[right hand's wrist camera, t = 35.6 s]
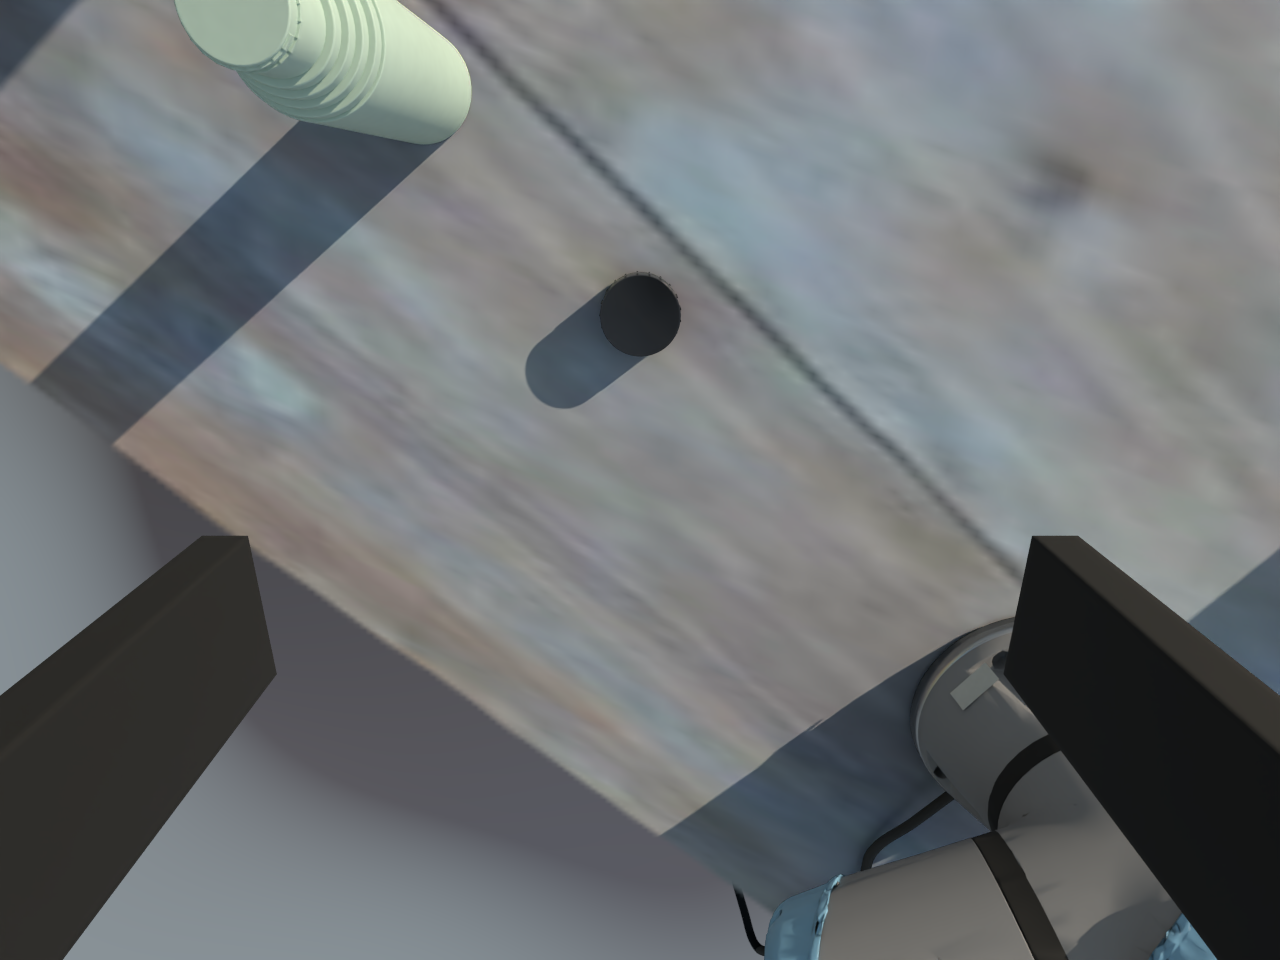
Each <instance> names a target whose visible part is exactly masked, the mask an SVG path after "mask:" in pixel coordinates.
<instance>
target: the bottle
mask: <svg viewBox="0 0 1280 960" xmlns="http://www.w3.org/2000/svg"><path fill="white" fill-rule="evenodd" d="M174 3H175V7H176V11H177V13H178V16H179V19H180V21H181V24H182V25H183V27H184V29H185V30H186V32H187V34H188V35H189V37H190V40H191V41H192V42H193V43H194V44H195V45H196V46H197V47H198V48H199V49H200V51H201V52H202V53H203V54H204V55H206V56H207V57H209V58H210V59H211V60H213V61H214V62H216V63H217V64H219V65H222V66H224V67H227V68H229V69H232V70H236V71H237V73H238V74H239V76H240V77H241V79H242V80H243V81H244V82H245V84H246V85H247V86H248V87H249V88H250V89H251V90H252V91H253V92H254V93H255V94H256V95H257V96H258V97H259V98H260V99H262V100H263V101H264V102H266V103H267V104H268V105H270V106H271V107H272V108H274V109H275V110H277V111H279V112H280V113H282V114H284V115H286V116H289V117H291V118H294V119H297V120H300V121H305V122H310V123H315V124H320V125H325V126H330V127H334V128H339V129H344V130H349V131H354V132H359V133H364V134H369V135H374V136H379V137H384V138H389V139H394V140H399V141H404V142H409V143H414V144H422V145H427V144H434V143H438V142H441V141H443V140H445V139H447V138H449V137H450V136H451V135H453V134H454V133H455V132H456V131H457V130H458V129H459V128H460V126H461V125H462V123H463V122H464V120H465V118H466V116H467V114H468V111H469V107H470V103H471V81H470V76H469V72H468V69H467V67H466V64H465V62H464V60H463V58H462V57H461V55H460V54H459V52H458V51H457V49H456V48H455V47H454V46H453V45H452V44H451V43H450V42H449V41H448V40H447V39H446V38H444V37H443V36H442V35H440V34H439V33H438V32H437V31H435V30H434V29H433V28H431V27H430V26H429V25H428V24H426V23H425V22H424V21H422V20H421V19H420V18H418V17H417V16H416V15H415V14H413V13H412V12H411V11H409V10H408V9H407V8H406V7H404V6H403V5H402V4H400V3H399V2H398V1H397V0H174Z"/></svg>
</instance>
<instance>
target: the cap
mask: <svg viewBox="0 0 1280 960" xmlns="http://www.w3.org/2000/svg"><path fill="white" fill-rule="evenodd" d="M677 298H678V297H677V294H675V293H674V291H673V289H672V288H671V285H670V284H668V283H667V282H666V281H664V280H663V279H662V278H661V276H660V277H658V276H656V275H654V274H651V273H650V272H649V273H646V272H638V271H637V272H635V273H630V274H625V276H623V277H621V278H619V279H618V280H615V281H614V283H613V284H612V285H611V286H610V288H609V289H607V290H606V294H605V297H604V299H603V300H602V302H601V304H602V306H601V311H600V319H601V325H602V329H603V332H604V334H605V336H606V337H607V339H608V340H609V342H610V343H611V344H612V345H613V346H614V347H616V348H617V349H618V350H620V351H621V352H624V353H626V354H629V355H633V356H648V355H652V354H655V353H657V352H659V351H661V350H663V349H664V348H665V347H667V346H668V345H669V344H670V343H671V341H672V340H673V339H674V337H675V336H676V334H677V331H678V329H679V325H680V322H681V319H680V318H681V313H680V310H681V307H680V305H679V303H678V300H677Z"/></svg>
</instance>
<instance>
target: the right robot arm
mask: <svg viewBox="0 0 1280 960" xmlns="http://www.w3.org/2000/svg"><path fill="white" fill-rule="evenodd" d="M276 674H277V673H276V669H275V664H274V659H273V654H272V649H271V645H270V640H269V635H268V630H267V626H266V621H265V616H264V611H263V606H262V601H261V597H260V592H259V587H258V583H257V577H256V573H255V568H254V563H253V558H252V554H251V549H250V544H249V539H248V536H201V537H200V538H199V539H197V540H196V541H195V542H194V543H192V544H191V545H190V546H189V547H187V548H186V549H185V550H184V551H182V552H181V553H180V554H179V555H177V556H176V557H175V558H173V559H172V560H171V561H170V562H169V563H167V564H166V565H165V566H163V567H162V568H161V569H160V570H158V571H157V572H156V573H155V574H153V575H152V576H151V577H149V578H148V579H147V580H146V581H144V582H143V583H142V584H141V585H139V586H138V587H137V588H136V589H134V590H133V591H132V592H131V593H129V594H128V595H127V596H125V597H124V598H123V599H122V600H121V601H119V602H118V603H117V604H115V605H114V606H113V607H112V608H110V609H109V610H108V611H107V612H105V613H104V614H103V615H102V616H100V617H99V618H98V619H97V620H95V621H94V622H93V623H91V624H90V625H89V626H88V627H86V628H85V629H84V630H83V631H81V632H80V633H79V634H78V635H76V636H75V637H74V638H72V639H71V640H70V641H69V642H67V643H66V644H65V645H64V646H62V647H61V648H60V649H59V650H57V651H56V652H55V653H54V654H52V655H51V656H50V657H48V658H47V659H46V660H45V661H43V662H42V663H41V664H40V665H38V666H37V667H36V668H35V669H33V670H32V671H31V672H30V673H28V674H27V675H26V676H25V677H23V678H22V679H21V680H19V681H18V682H17V683H16V684H14V685H13V686H12V687H11V688H9V689H8V690H7V691H6V692H4V693H3V694H2V695H1V696H0V960H63V959H64V957H65V956H66V955H67V953H68V952H69V951H70V949H71V948H72V947H73V945H74V944H75V943H76V941H77V940H78V939H79V937H80V936H81V935H82V933H83V932H84V931H85V929H86V928H87V927H88V925H89V924H90V923H91V921H92V920H93V919H94V917H95V916H96V915H97V913H98V912H99V911H100V909H101V908H102V907H103V905H104V904H105V903H106V901H107V900H108V898H109V897H110V896H111V894H112V893H113V892H114V891H115V889H116V888H117V887H118V885H119V884H120V883H121V881H122V880H123V879H124V877H125V876H126V875H127V873H128V872H129V871H130V869H131V868H132V867H133V865H134V864H135V863H136V861H137V860H138V858H139V857H140V856H141V855H142V853H143V852H144V851H145V849H146V848H147V846H148V845H149V844H150V842H151V841H152V840H153V839H154V837H155V836H156V834H157V833H158V832H159V830H160V829H161V828H162V826H163V825H164V824H165V822H166V821H167V820H168V818H169V817H170V816H171V814H172V813H173V812H174V810H175V809H176V808H177V806H178V805H179V804H180V802H181V801H182V800H183V798H184V797H185V796H186V794H187V793H188V792H189V790H190V789H191V788H192V786H193V785H194V784H195V782H196V781H197V780H198V778H199V777H200V776H201V774H202V773H203V772H204V770H205V769H206V768H207V766H208V765H209V764H210V762H211V761H212V760H213V758H214V757H215V756H216V754H217V753H218V752H219V750H220V749H221V748H222V746H223V745H224V744H225V742H226V741H227V740H228V738H229V737H230V736H231V734H232V733H233V732H234V730H235V729H236V728H237V726H238V725H239V724H240V722H241V721H242V720H243V718H244V717H245V716H246V714H247V713H248V712H249V710H250V709H251V708H252V706H253V705H254V704H255V702H256V701H257V700H258V698H259V697H260V696H261V694H262V693H263V692H264V690H265V689H266V688H267V686H268V685H269V684H270V682H271V681H272V680H273V678H274V677H275V676H276ZM910 725H911V733H912V737H913V740H914V743H915V746H916V748H917V750H918V752H919V754H920V756H921V758H922V760H923V762H924V764H925V766H926V768H927V769H928V771H929V772H930V774H931V775H932V776H933V777H934V779H935V780H936V781H937V782H938V784H939V785H940V786H941V787H942V788H943V789H944V790H945V791H946V792H944V793H943V794H942V795H940V796H939V797H938V798H936V799H935V800H934V801H932V802H931V803H930V804H929V805H927V806H926V807H925V808H923V809H922V810H920V811H919V812H918V813H916V814H915V815H914V816H912V817H911V818H910V819H908V820H907V821H905V822H904V823H902V824H901V825H899V826H897V827H896V828H894V829H892V830H890V831H889V832H887V833H886V834H884V835H883V836H881V837H880V838H878V839H877V840H876V841H875V842H874V843H873V844H872V845H871V846H870V847H869V848H868V850H867V851H866V853H865V855H864V858H863V862H862V867H861V872H858V873H854V874H851V875H842V874H840V875H837V876H835V877H833V878H832V879H831V880H830V881H828V883H826V884H824V885H821V886H819V887H816V888H813V889H811V890H808V891H805V892H803V893H800V894H797V895H795V896H792V897H790V898H788V899H786V900H785V901H783V902H782V903H781V904H780V905H779V906H778V908H777V909H776V910H775V912H774V914H773V916H772V918H771V920H770V924H769V928H768V933H767V935H766V942H765V946H763V945H761V944H760V943H759V942H758V940H757V938H756V936H755V933H754V930H753V926H752V923H751V919H750V915H749V911H748V908H747V905H746V901H745V898H744V895H743V893H742V892H741V891H739V890H738V889H736V888H735V887H733V888H734V891H735V895H736V898H737V902H738V905H739V909H740V912H741V916H742V920H743V924H744V928H745V932H746V935H747V938H748V940H749V942H750V944H751V946H752V948H753V949H754V951H756V952H757V953H758V954H760V955H762V956H764V960H1280V696H1279V695H1278V694H1277V693H1276V692H1274V691H1273V690H1272V689H1271V688H1269V687H1268V686H1267V685H1266V684H1264V683H1263V682H1262V681H1261V680H1259V679H1258V678H1257V677H1256V676H1254V675H1253V674H1252V673H1250V672H1249V671H1248V670H1247V669H1245V668H1244V667H1243V666H1242V665H1240V664H1239V663H1238V662H1237V661H1235V660H1234V659H1233V658H1232V657H1230V656H1229V655H1228V654H1226V653H1225V652H1224V651H1223V650H1221V649H1220V648H1219V647H1218V646H1216V645H1215V644H1214V643H1213V642H1211V641H1210V640H1209V639H1208V638H1206V637H1205V636H1204V635H1202V634H1201V633H1200V632H1199V631H1197V630H1196V629H1195V628H1194V627H1192V626H1191V625H1190V624H1189V623H1187V622H1186V621H1185V620H1184V619H1182V618H1181V617H1180V616H1178V615H1177V614H1176V613H1175V612H1173V611H1172V610H1171V609H1170V608H1168V607H1167V606H1166V605H1165V604H1163V603H1162V602H1161V601H1160V600H1158V599H1157V598H1156V597H1155V596H1153V595H1152V594H1151V593H1149V592H1148V591H1147V590H1146V589H1144V588H1143V587H1142V586H1141V585H1139V584H1138V583H1137V582H1136V581H1134V580H1133V579H1132V578H1131V577H1129V576H1128V575H1127V574H1125V573H1124V572H1123V571H1122V570H1120V569H1119V568H1118V567H1117V566H1115V565H1114V564H1113V563H1112V562H1110V561H1109V560H1108V559H1107V558H1105V557H1104V556H1103V555H1101V554H1100V553H1099V552H1098V551H1096V550H1095V549H1094V548H1093V547H1091V546H1090V545H1089V544H1088V543H1086V542H1085V541H1084V540H1083V539H1081V538H1080V537H1079V536H1032V539H1031V544H1030V549H1029V554H1028V558H1027V563H1026V568H1025V573H1024V577H1023V582H1022V587H1021V592H1020V597H1019V601H1018V606H1017V611H1016V616H1015V617H1013V618H1009V619H1005V620H1001V621H998V622H995V623H992V624H989V625H987V626H984V627H982V628H979V629H977V630H975V631H973V632H971V633H970V634H968V635H966V636H965V637H963V638H961V639H960V640H958V641H957V642H956V643H954V644H953V645H951V646H950V647H949V648H948V649H947V650H946V651H944V652H943V653H942V654H941V655H940V656H939V657H938V658H937V659H936V660H935V662H934V663H933V664H932V665H931V666H930V668H929V669H928V670H927V672H926V673H925V675H924V676H923V678H922V680H921V682H920V683H919V685H918V688H917V690H916V692H915V695H914V699H913V702H912V707H911V715H910ZM954 799H955V800H956V801H957V802H959V803H960V804H961V805H962V806H963V807H964V808H965V809H966V810H967V811H969V812H970V813H971V814H972V815H973V816H974V817H975V818H976V819H978V820H979V821H980V822H981V823H982V824H983V825H984V826H985V827H986V828H988V829H989V830H990V831H991V832H989V833H986V834H983V835H980V836H977V837H973V838H969V839H965V840H962V841H959V842H956V843H953V844H950V845H947V846H943V847H940V848H937V849H934V850H931V851H928V852H924V853H921V854H918V855H915V856H911V857H908V858H905V859H901V860H898V861H895V862H891V863H888V864H884V865H881V866H878V867H874V868H871V867H872V863H873V860H874V858H875V857H876V855H877V854H878V853H879V852H880V851H881V850H882V849H883V848H884V847H885V846H887V845H888V844H889V843H891V842H892V841H894V840H896V839H897V838H899V837H901V836H903V835H904V834H906V833H908V832H909V831H911V830H913V829H914V828H915V827H917V826H918V825H920V824H921V823H922V822H924V821H925V820H927V819H928V818H929V817H931V816H932V815H933V814H935V813H936V812H937V811H939V810H940V809H941V808H943V807H944V806H945V805H947V804H948V803H949V802H951V801H952V800H954Z"/></svg>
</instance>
